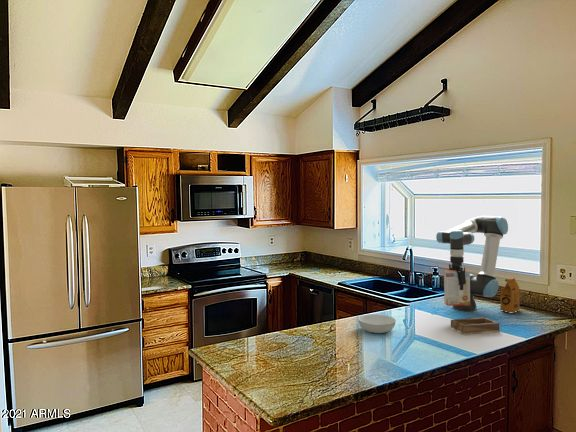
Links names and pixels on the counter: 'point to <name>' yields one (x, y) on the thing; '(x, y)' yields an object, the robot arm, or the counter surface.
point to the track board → (475, 326)
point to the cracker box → (456, 289)
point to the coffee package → (510, 296)
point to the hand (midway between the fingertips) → (456, 293)
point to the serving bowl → (376, 323)
